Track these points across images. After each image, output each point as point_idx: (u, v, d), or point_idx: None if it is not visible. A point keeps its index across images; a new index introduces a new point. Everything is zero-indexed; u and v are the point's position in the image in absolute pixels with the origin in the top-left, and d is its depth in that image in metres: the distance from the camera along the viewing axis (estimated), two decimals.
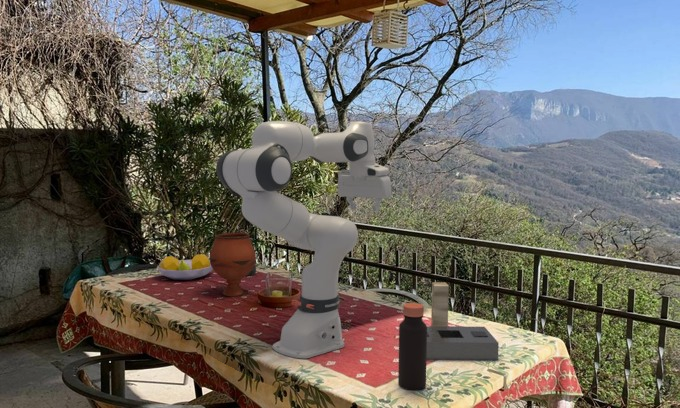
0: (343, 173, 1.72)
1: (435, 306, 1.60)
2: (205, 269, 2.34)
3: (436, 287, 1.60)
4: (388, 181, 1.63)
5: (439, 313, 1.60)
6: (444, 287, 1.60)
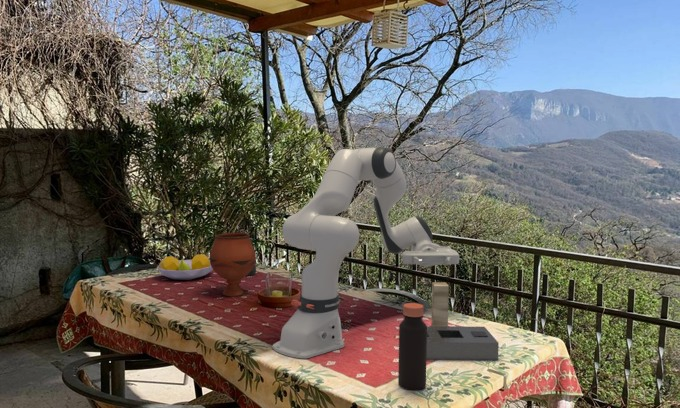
0: None
1: (435, 306, 1.60)
2: (205, 269, 2.34)
3: (436, 287, 1.60)
4: None
5: (439, 313, 1.60)
6: (444, 287, 1.60)
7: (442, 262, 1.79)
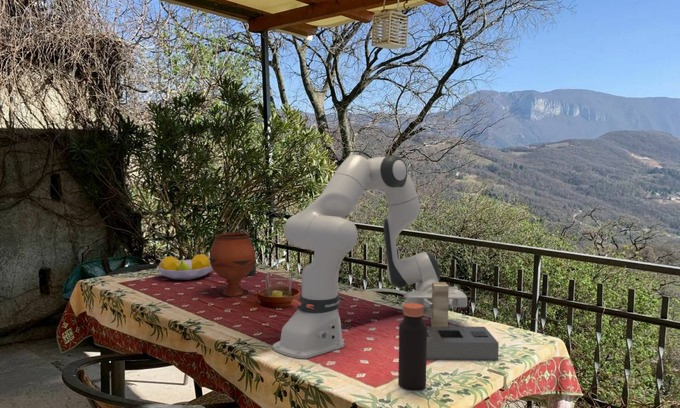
0: None
1: (435, 306, 1.60)
2: (205, 269, 2.34)
3: (436, 287, 1.60)
4: None
5: (439, 313, 1.60)
6: (444, 287, 1.60)
7: None
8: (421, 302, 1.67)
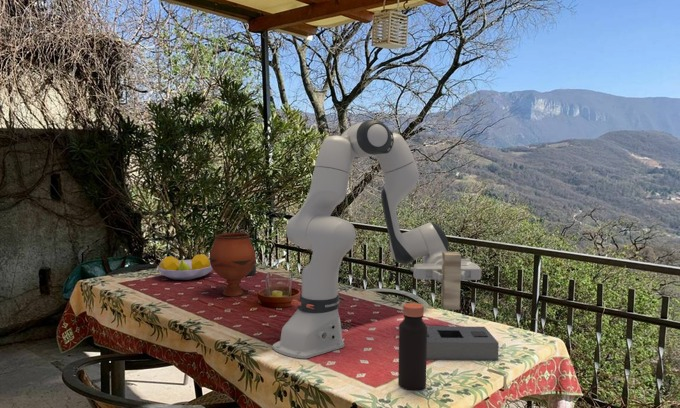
0: None
1: (446, 277, 1.44)
2: (205, 269, 2.34)
3: (447, 256, 1.43)
4: None
5: (451, 285, 1.44)
6: (456, 256, 1.43)
7: None
8: (430, 274, 1.51)
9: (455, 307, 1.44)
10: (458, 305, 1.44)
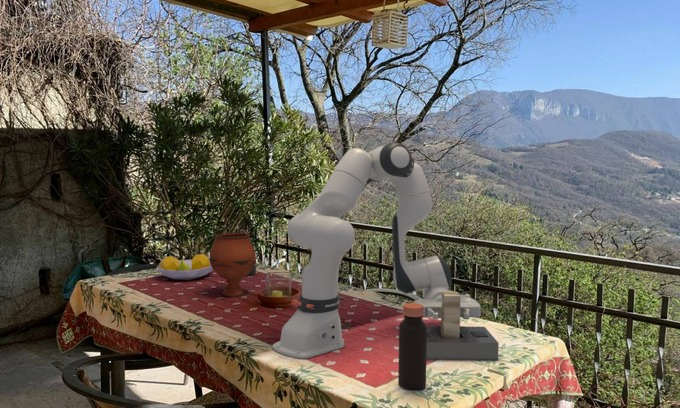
0: None
1: (445, 318, 1.44)
2: (205, 269, 2.34)
3: (446, 297, 1.44)
4: None
5: (450, 326, 1.44)
6: (455, 297, 1.44)
7: (460, 315, 1.50)
8: None
9: None
10: None
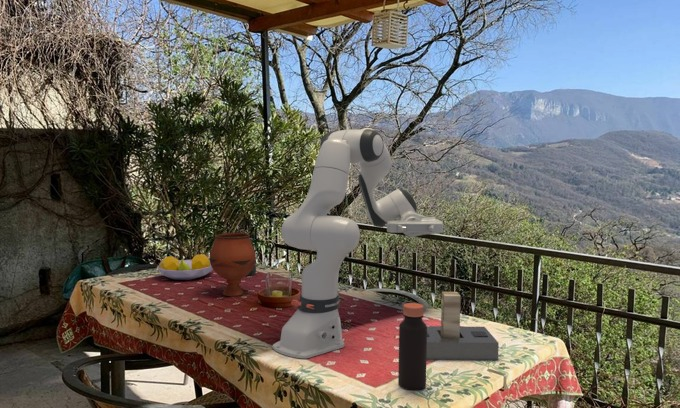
0: None
1: (445, 318, 1.44)
2: (205, 269, 2.34)
3: (446, 297, 1.44)
4: None
5: (450, 326, 1.44)
6: (455, 297, 1.44)
7: (426, 231, 1.79)
8: None
9: None
10: None
